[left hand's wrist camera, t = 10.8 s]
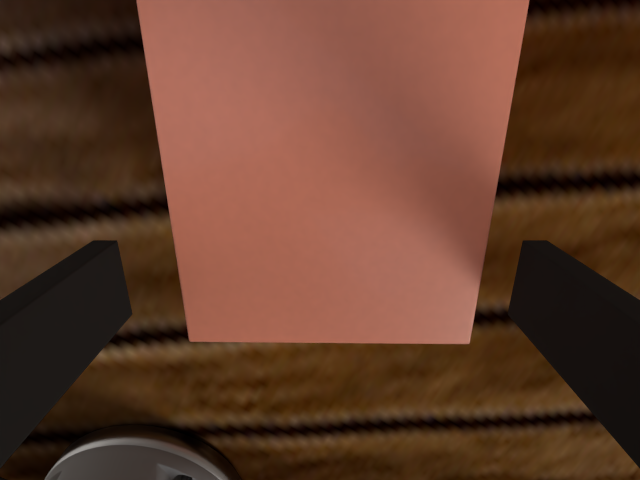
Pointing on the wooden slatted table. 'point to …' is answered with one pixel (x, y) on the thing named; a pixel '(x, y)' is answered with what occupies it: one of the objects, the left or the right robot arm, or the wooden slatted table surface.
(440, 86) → the cabinet
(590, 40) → the wooden slatted table surface
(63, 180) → the wooden slatted table surface
